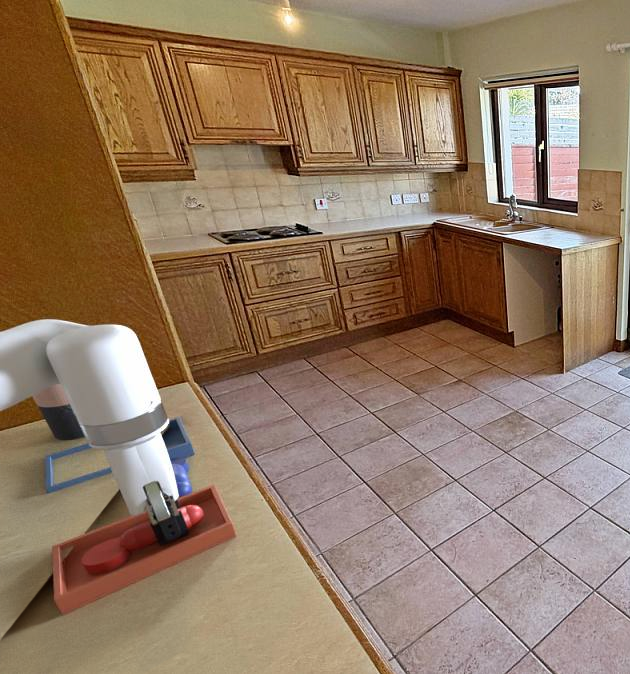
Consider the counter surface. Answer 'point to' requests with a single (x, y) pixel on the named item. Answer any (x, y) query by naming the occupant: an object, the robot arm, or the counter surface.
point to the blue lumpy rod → (181, 476)
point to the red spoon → (130, 543)
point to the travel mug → (58, 413)
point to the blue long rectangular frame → (175, 446)
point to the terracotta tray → (135, 552)
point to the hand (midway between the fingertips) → (172, 530)
